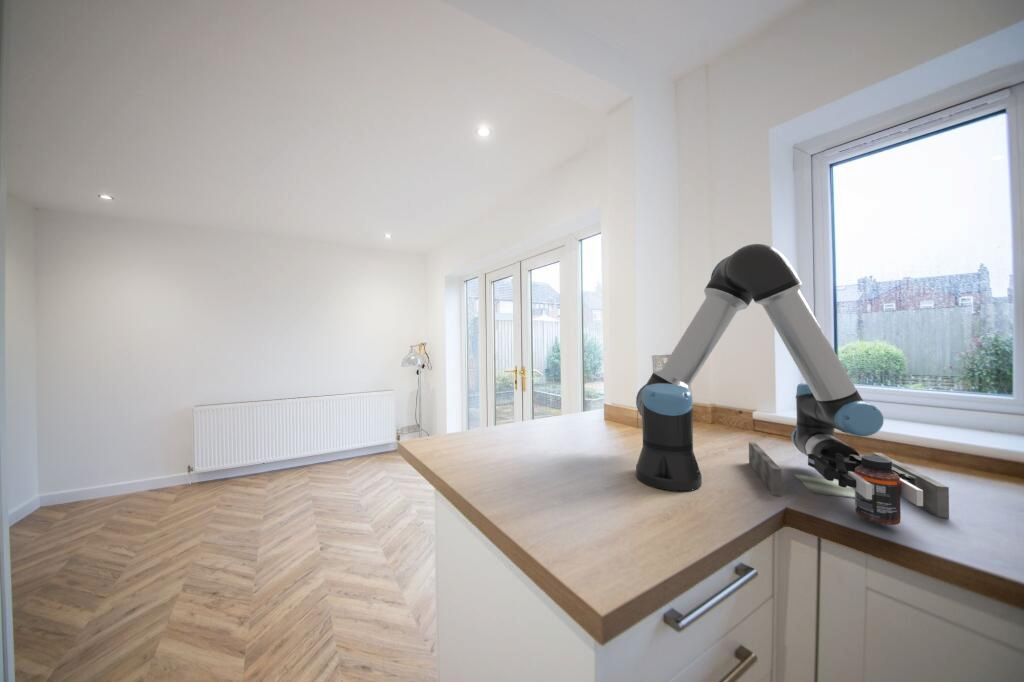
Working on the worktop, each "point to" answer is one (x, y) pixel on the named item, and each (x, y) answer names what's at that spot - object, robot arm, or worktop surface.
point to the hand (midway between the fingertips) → (893, 494)
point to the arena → (771, 476)
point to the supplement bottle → (879, 491)
